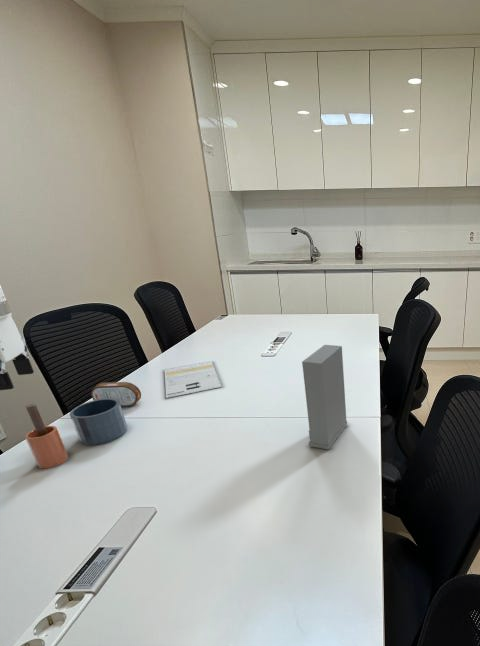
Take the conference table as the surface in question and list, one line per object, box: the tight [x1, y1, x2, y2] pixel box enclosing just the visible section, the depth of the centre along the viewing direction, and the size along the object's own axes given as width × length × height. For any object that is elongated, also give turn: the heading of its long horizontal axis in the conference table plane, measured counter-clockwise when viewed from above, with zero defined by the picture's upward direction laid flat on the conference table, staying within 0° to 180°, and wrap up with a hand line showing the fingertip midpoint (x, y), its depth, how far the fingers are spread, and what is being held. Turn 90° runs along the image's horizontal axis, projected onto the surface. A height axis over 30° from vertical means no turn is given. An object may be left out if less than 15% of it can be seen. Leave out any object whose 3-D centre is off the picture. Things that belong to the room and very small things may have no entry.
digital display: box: [164, 361, 222, 399], centre depth 152 cm, size 18×1×30 cm
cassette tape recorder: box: [301, 344, 348, 451], centre depth 106 cm, size 14×6×25 cm, turn 162°
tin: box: [90, 381, 142, 408], centre depth 130 cm, size 15×3×8 cm, turn 94°
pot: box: [69, 398, 129, 446], centre depth 113 cm, size 12×12×9 cm
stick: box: [25, 403, 48, 437], centre depth 99 cm, size 2×2×16 cm
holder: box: [24, 425, 69, 469], centre depth 101 cm, size 6×6×9 cm
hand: (16, 381), depth 93 cm, fingers open, 9 cm apart
